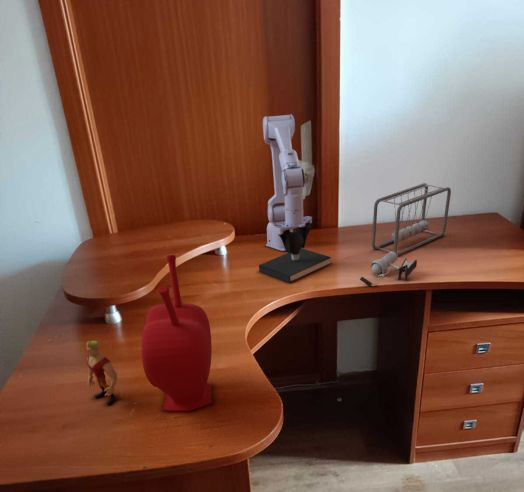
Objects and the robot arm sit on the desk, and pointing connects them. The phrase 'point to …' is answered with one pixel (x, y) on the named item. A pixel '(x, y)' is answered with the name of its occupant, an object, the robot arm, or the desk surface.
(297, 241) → the light bulb
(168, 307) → the novelty television
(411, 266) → the clip-on lamp
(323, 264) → the notebook
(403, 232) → the newton's cradle
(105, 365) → the action figure
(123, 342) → the desk surface
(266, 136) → the robot arm
